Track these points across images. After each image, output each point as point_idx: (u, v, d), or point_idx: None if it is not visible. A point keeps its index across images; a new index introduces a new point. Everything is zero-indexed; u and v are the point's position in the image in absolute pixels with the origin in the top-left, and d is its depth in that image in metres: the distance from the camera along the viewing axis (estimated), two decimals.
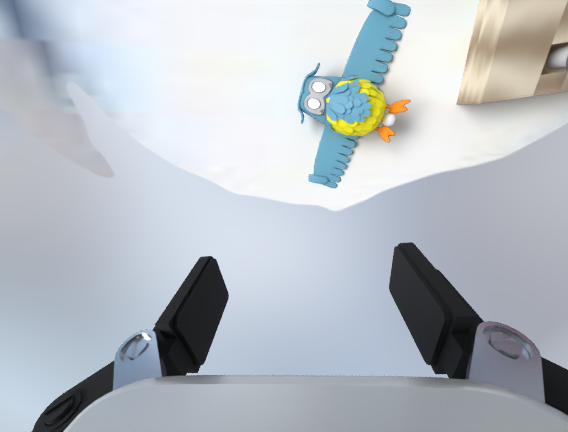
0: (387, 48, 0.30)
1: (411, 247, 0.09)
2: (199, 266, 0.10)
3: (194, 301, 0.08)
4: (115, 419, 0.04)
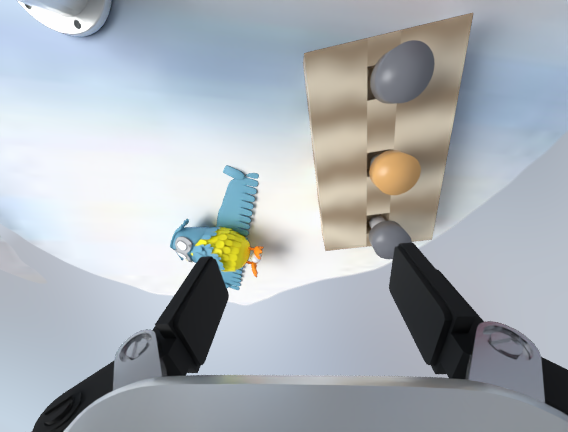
0: (247, 200, 0.35)
1: (411, 247, 0.09)
2: (199, 266, 0.10)
3: (194, 301, 0.08)
4: (115, 419, 0.04)
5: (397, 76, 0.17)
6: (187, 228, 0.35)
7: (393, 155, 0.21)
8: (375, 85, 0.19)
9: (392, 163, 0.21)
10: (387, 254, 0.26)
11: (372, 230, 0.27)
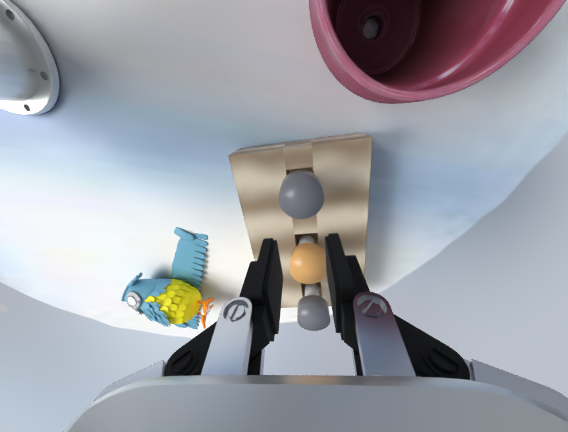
0: (198, 257, 0.37)
1: (334, 237, 0.10)
2: (266, 246, 0.11)
3: (271, 275, 0.09)
4: (115, 419, 0.04)
5: (294, 200, 0.20)
6: (140, 281, 0.37)
7: (302, 254, 0.23)
8: None
9: (301, 261, 0.23)
10: (310, 327, 0.28)
11: (299, 302, 0.29)
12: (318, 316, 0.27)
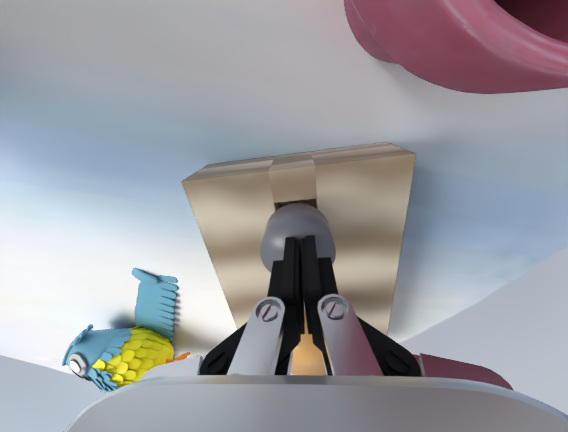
0: (166, 304, 0.28)
1: (310, 239, 0.11)
2: (290, 245, 0.10)
3: (298, 274, 0.09)
4: (115, 419, 0.04)
5: None
6: (89, 336, 0.28)
7: None
8: None
9: (299, 350, 0.14)
10: None
11: None
12: None
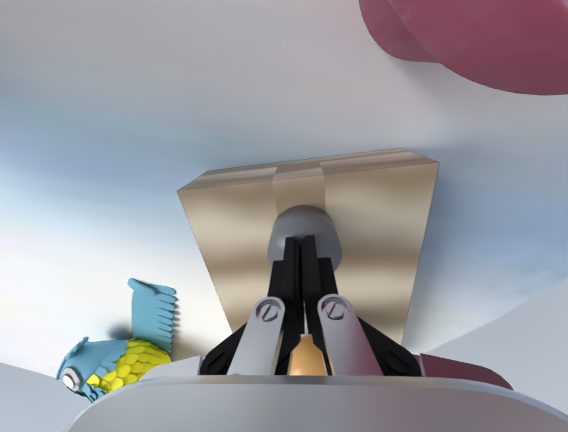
0: (164, 316, 0.27)
1: (310, 239, 0.11)
2: (290, 244, 0.10)
3: (298, 274, 0.09)
4: (115, 419, 0.04)
5: None
6: (84, 349, 0.27)
7: (306, 369, 0.13)
8: None
9: None
10: None
11: None
12: None
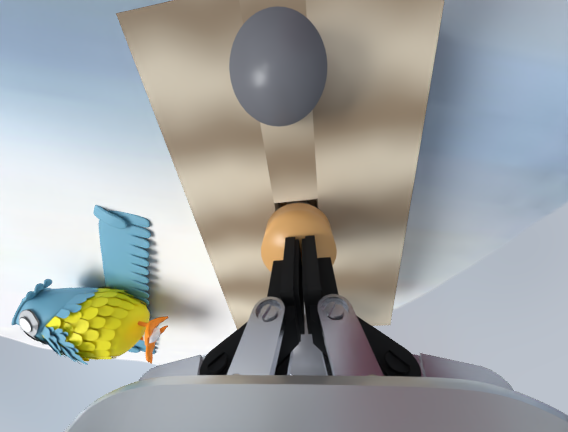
0: (138, 255, 0.24)
1: (310, 239, 0.11)
2: (290, 245, 0.10)
3: (299, 274, 0.09)
4: (115, 419, 0.04)
5: (263, 77, 0.09)
6: (46, 293, 0.24)
7: (285, 221, 0.11)
8: None
9: (284, 234, 0.11)
10: (305, 373, 0.16)
11: None
12: (319, 357, 0.14)
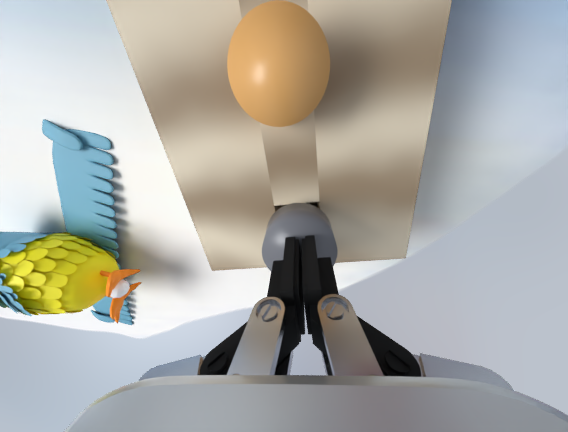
0: (100, 189, 0.20)
1: (310, 239, 0.11)
2: (290, 244, 0.10)
3: (298, 274, 0.09)
4: (115, 419, 0.04)
5: None
6: None
7: None
8: None
9: (257, 31, 0.08)
10: None
11: (269, 222, 0.13)
12: None
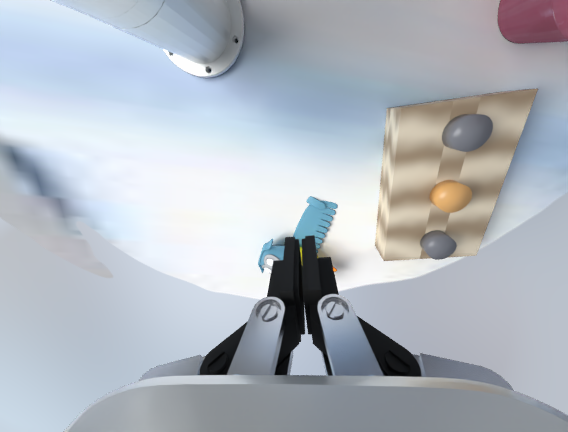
0: (323, 225, 0.41)
1: (309, 239, 0.11)
2: (290, 244, 0.10)
3: (299, 274, 0.09)
4: (115, 419, 0.04)
5: (466, 135, 0.26)
6: (271, 246, 0.41)
7: (453, 185, 0.29)
8: (448, 138, 0.27)
9: (452, 190, 0.29)
10: (436, 255, 0.34)
11: (424, 237, 0.35)
12: (447, 244, 0.33)
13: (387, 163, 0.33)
